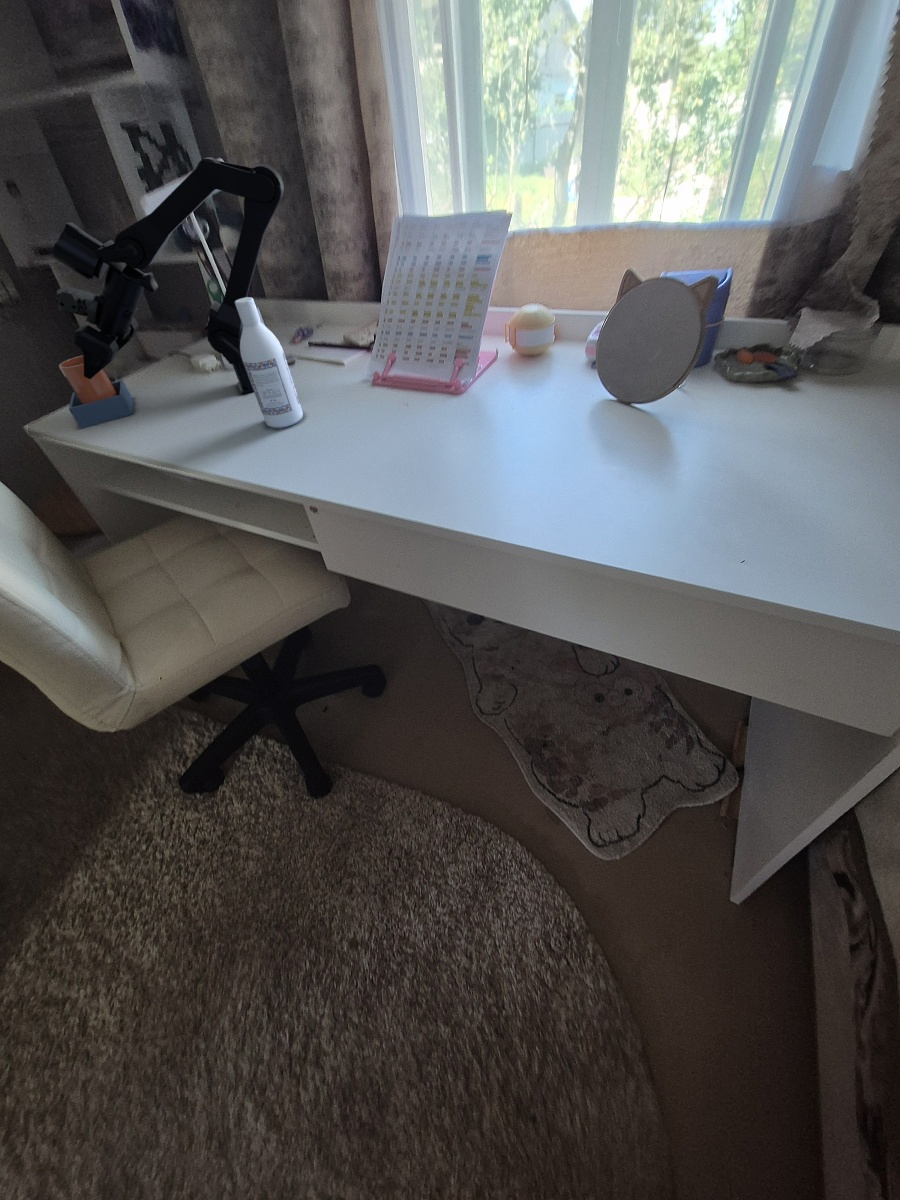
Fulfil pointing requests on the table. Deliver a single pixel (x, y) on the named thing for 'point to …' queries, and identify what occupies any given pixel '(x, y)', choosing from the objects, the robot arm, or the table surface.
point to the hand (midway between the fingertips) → (94, 369)
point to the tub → (103, 407)
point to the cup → (87, 381)
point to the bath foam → (267, 369)
